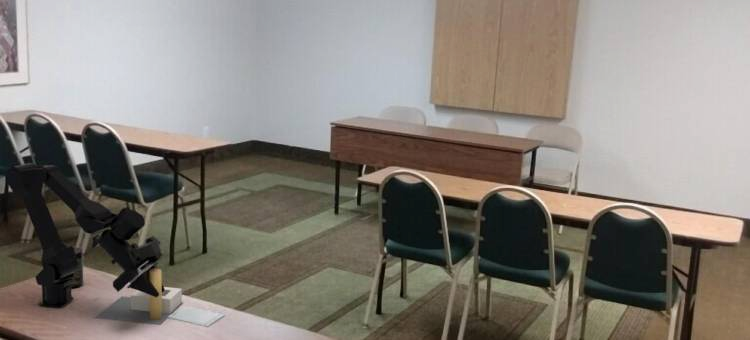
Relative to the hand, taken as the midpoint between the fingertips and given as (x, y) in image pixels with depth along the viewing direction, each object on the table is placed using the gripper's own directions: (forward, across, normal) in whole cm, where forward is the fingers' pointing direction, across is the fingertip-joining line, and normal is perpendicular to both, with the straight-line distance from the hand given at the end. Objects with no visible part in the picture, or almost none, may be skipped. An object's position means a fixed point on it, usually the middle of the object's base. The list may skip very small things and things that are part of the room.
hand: (160, 293), depth 191 cm
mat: (0, +4, +10) cm, 11 cm away
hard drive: (+12, +3, 0) cm, 12 cm away
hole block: (+2, +8, +8) cm, 11 cm away
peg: (+4, 0, +6) cm, 7 cm away
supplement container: (-19, +17, +30) cm, 39 cm away
